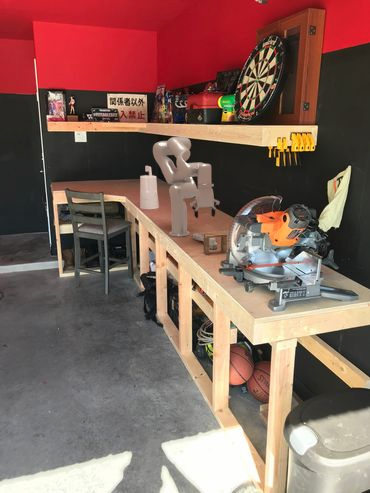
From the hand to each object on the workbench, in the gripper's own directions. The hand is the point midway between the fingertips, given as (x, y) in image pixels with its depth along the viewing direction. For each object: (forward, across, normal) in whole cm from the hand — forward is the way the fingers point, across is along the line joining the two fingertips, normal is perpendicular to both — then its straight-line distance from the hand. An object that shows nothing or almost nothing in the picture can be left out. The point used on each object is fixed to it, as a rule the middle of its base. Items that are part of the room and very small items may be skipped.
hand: (204, 217), depth 239 cm
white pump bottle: (+14, +9, -116) cm, 117 cm away
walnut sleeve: (+16, 0, +17) cm, 24 cm away
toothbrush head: (+16, 0, -1) cm, 16 cm away
